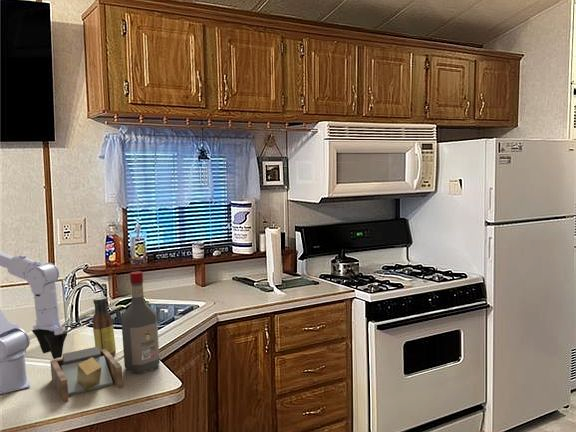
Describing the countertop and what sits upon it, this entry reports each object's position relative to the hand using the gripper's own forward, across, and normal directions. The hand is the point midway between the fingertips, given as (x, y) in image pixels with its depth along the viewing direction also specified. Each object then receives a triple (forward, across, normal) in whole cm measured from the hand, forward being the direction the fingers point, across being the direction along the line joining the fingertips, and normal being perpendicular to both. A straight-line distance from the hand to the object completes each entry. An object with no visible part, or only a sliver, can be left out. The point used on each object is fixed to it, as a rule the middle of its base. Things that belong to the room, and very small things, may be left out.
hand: (52, 355), depth 147 cm
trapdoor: (+8, +1, +8) cm, 12 cm away
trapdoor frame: (+11, +2, +8) cm, 13 cm away
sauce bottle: (+11, -15, +22) cm, 28 cm away
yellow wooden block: (+9, +6, +7) cm, 13 cm away
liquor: (+11, +3, +25) cm, 28 cm away
